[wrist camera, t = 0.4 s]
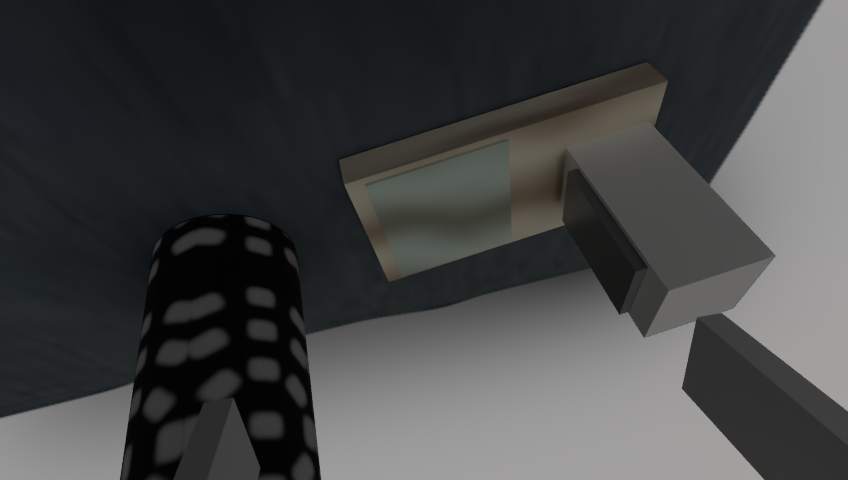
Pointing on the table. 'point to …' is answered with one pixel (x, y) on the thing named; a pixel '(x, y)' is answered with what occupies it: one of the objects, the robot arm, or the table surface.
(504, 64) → the table surface
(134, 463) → the white-spotted black cylinder
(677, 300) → the block
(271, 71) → the table surface
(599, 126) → the beige rectangular board
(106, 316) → the table surface
